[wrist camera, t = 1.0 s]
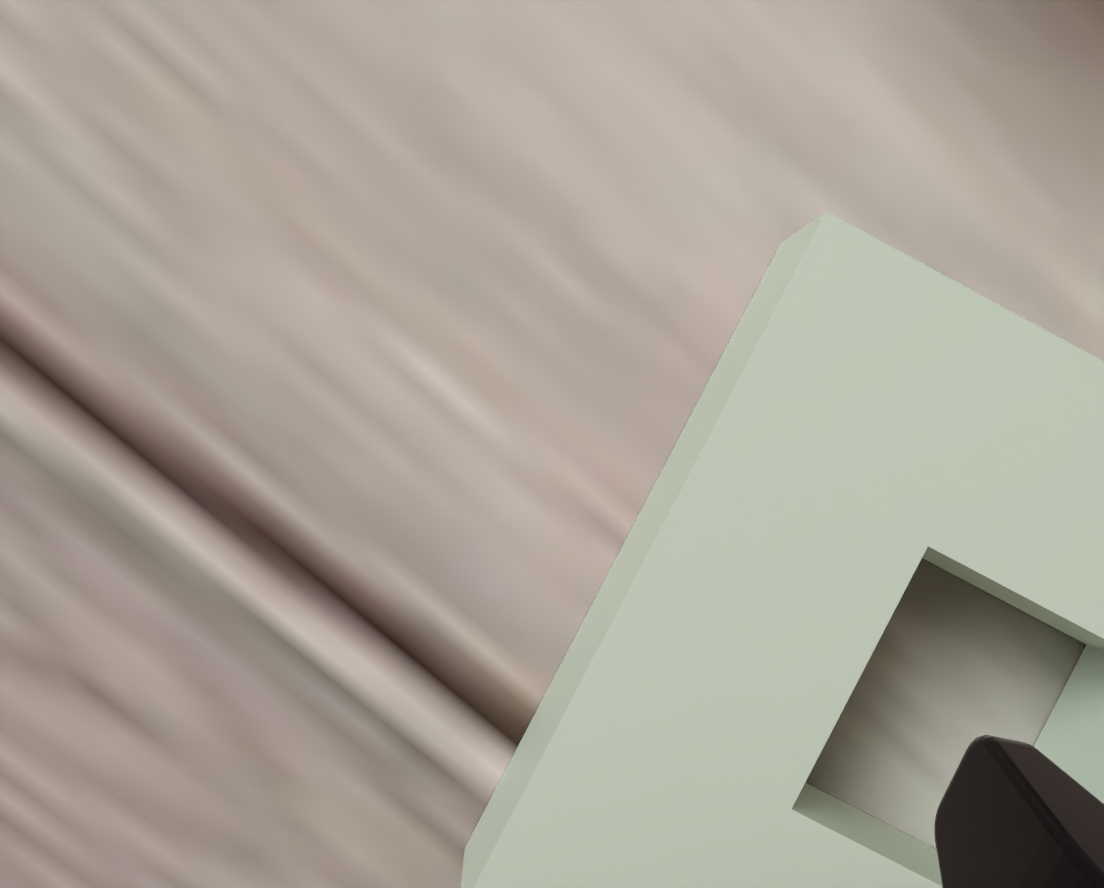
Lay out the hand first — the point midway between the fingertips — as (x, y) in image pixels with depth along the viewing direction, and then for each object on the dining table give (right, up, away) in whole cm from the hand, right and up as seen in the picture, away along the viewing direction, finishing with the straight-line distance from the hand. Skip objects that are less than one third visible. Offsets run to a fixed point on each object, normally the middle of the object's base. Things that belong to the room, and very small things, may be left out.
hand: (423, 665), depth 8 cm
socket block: (+10, -4, +16) cm, 19 cm away
